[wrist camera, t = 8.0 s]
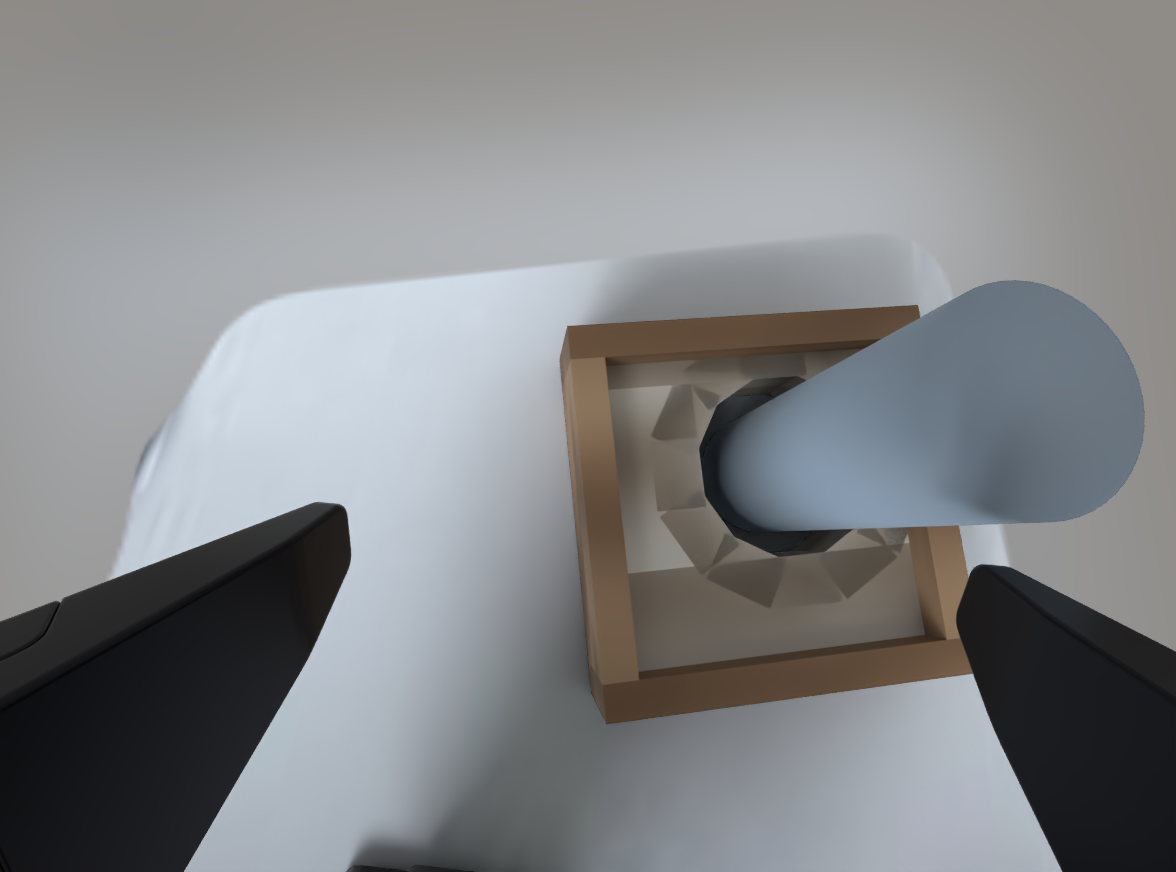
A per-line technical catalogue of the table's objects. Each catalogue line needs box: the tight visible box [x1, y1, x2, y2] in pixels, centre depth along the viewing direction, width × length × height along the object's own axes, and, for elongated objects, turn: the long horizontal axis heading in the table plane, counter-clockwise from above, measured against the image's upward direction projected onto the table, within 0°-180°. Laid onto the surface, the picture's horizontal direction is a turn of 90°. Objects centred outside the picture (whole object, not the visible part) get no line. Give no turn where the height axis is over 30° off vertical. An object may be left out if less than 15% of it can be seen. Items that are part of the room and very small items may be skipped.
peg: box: [701, 280, 1144, 532], centre depth 16 cm, size 4×4×12 cm
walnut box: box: [560, 305, 973, 724], centre depth 20 cm, size 11×11×4 cm
